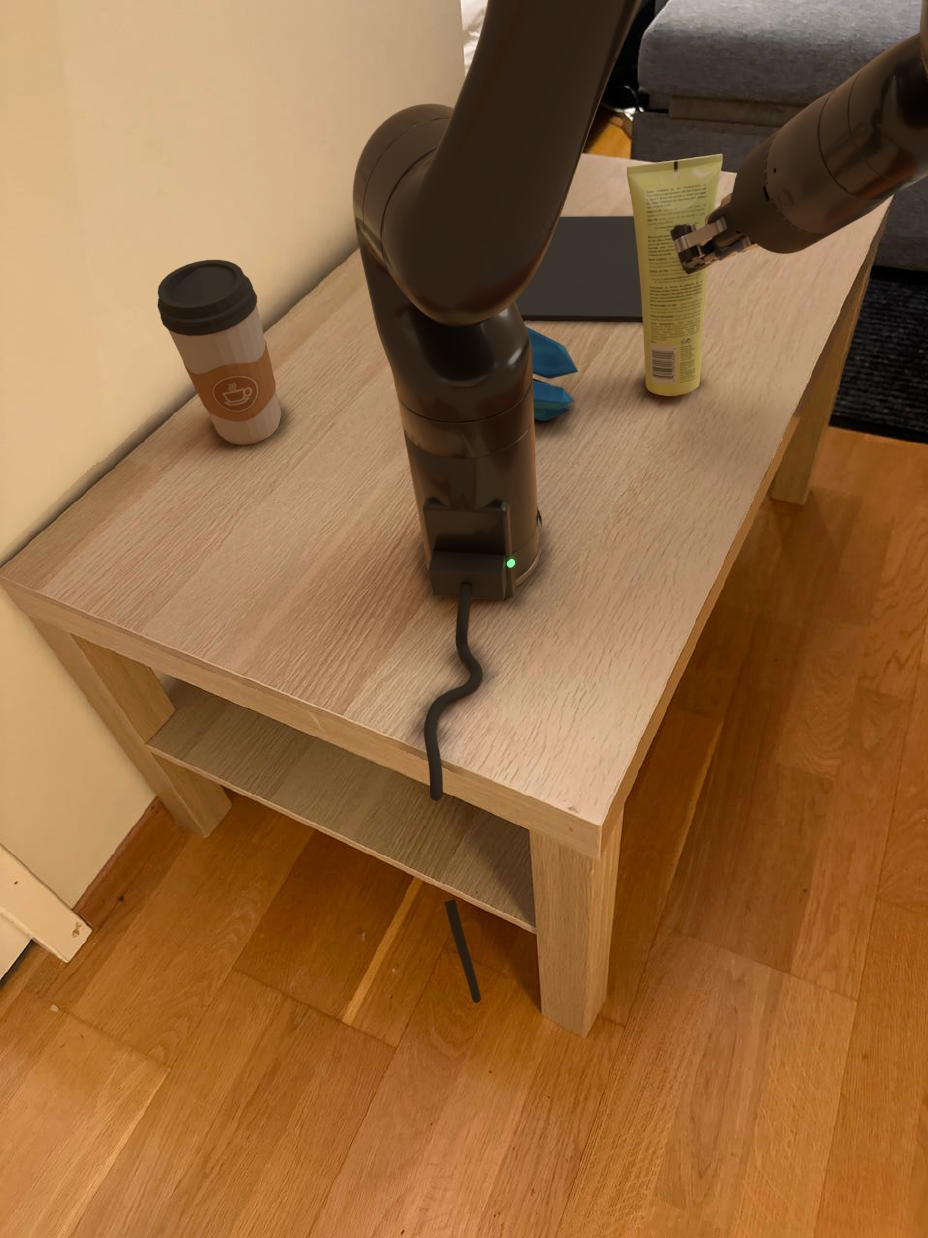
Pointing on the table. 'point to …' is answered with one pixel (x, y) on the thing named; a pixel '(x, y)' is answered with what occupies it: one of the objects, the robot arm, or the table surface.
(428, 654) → the table surface
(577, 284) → the mat
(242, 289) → the coffee cup
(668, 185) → the tube
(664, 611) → the table surface
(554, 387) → the crystal
